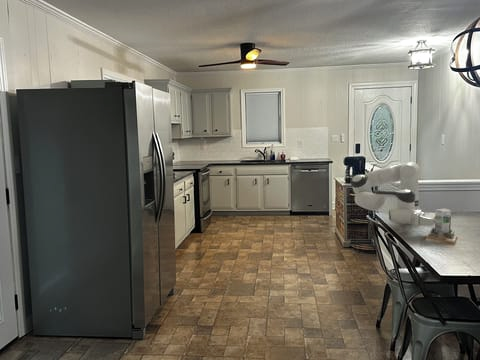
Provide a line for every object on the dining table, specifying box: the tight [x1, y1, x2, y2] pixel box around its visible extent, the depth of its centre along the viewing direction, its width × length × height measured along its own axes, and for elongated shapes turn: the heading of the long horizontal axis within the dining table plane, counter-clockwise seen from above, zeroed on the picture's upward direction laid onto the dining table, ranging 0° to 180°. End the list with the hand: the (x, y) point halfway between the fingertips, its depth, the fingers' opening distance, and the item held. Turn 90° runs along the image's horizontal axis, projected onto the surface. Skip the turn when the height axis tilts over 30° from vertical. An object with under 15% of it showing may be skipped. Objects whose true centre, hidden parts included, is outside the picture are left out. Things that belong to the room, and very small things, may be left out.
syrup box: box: [434, 208, 452, 233], centre depth 235 cm, size 6×6×14 cm
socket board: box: [425, 227, 458, 245], centre depth 233 cm, size 18×14×6 cm
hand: (444, 219), depth 234 cm, fingers open, 8 cm apart
